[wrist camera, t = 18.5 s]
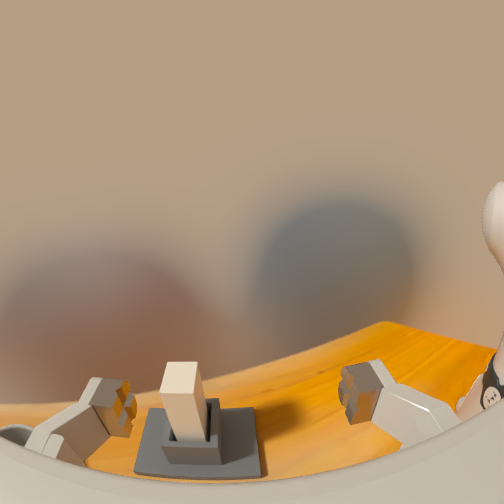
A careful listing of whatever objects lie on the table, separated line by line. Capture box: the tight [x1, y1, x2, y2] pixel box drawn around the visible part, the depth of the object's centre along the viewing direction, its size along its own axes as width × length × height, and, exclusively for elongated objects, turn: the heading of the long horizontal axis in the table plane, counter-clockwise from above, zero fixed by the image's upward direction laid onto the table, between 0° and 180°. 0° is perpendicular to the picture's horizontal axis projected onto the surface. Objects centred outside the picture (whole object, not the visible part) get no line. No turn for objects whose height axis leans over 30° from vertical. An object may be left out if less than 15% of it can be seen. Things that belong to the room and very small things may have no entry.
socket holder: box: [134, 398, 261, 480], centre depth 35 cm, size 18×14×6 cm
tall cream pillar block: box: [159, 362, 211, 442], centre depth 34 cm, size 4×6×14 cm, turn 4°
